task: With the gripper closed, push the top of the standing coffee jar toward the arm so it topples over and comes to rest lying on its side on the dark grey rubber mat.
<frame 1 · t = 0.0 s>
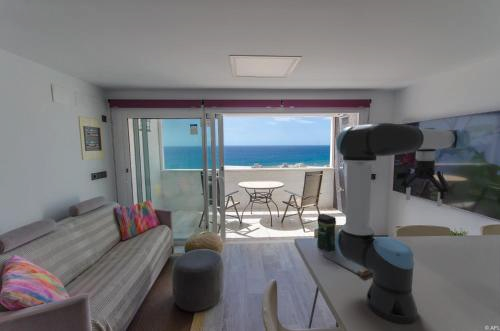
hand: (422, 202, 113), 28 cm above the table, fingers open, 13 cm apart
coffee jar: (326, 247, 127), on the table
walnut stop strip: (372, 270, 103), on the table
rubber mat: (351, 259, 113), on the table
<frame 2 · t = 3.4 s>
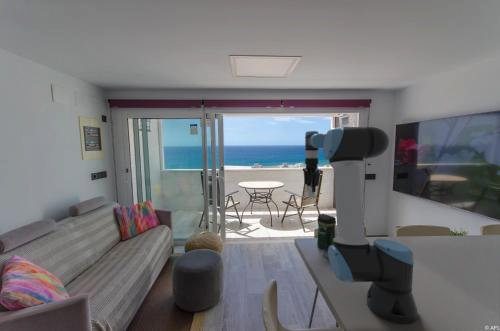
hand: (311, 196, 136), 26 cm above the table, fingers closed
nothing on the table moved.
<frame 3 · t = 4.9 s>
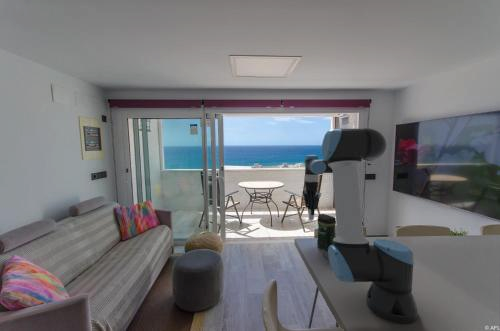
hand: (311, 219, 137), 12 cm above the table, fingers closed
nothing on the table moved.
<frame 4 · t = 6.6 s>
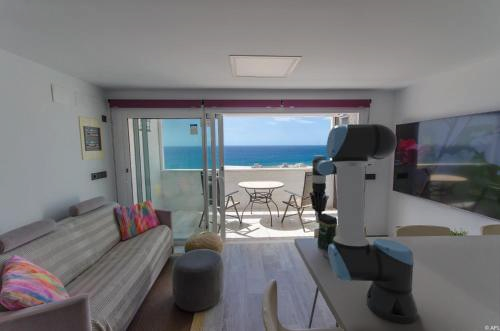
hand: (318, 222, 132), 13 cm above the table, fingers closed
coffee jar: (326, 247, 127), on the table, touching gripper
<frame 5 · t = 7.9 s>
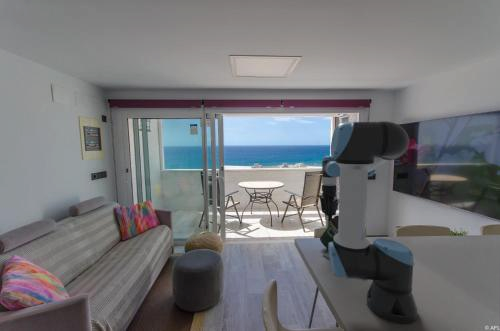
hand: (328, 226, 125), 12 cm above the table, fingers closed
coffee jar: (327, 243, 127), point 2 cm above the table, touching gripper
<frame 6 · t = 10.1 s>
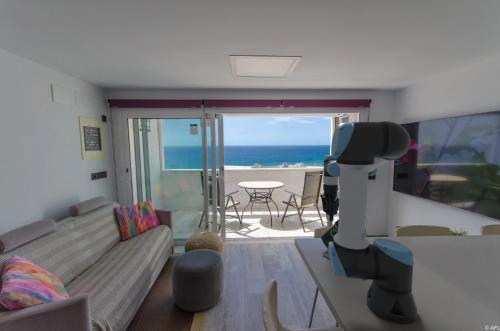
hand: (329, 226, 125), 13 cm above the table, fingers closed
coffee jar: (328, 242, 126), point 3 cm above the table
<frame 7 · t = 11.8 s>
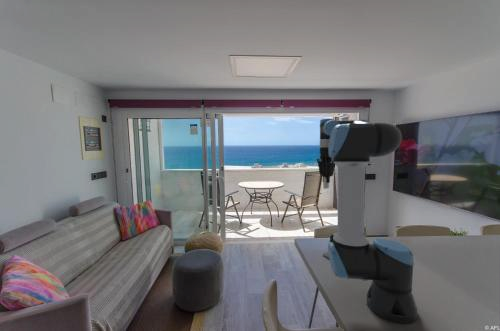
hand: (326, 188, 130), 33 cm above the table, fingers closed
coffee jar: (333, 240, 123), point 6 cm above the table, touching rubber mat
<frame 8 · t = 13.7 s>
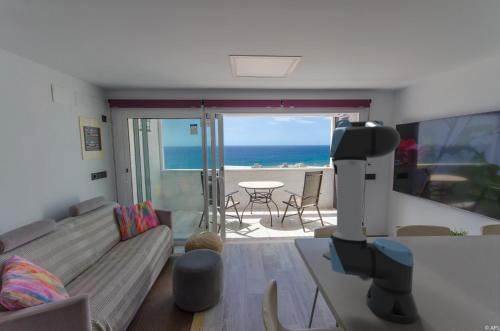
hand: (341, 186, 134), 32 cm above the table, fingers closed
nothing on the table moved.
at the end: coffee jar tilted 91°; coffee jar inside the target area (10.5 cm from its centre), point 5.6 cm above the table; the gripper is holding nothing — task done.
